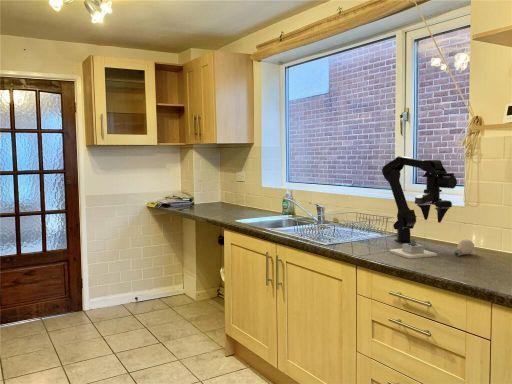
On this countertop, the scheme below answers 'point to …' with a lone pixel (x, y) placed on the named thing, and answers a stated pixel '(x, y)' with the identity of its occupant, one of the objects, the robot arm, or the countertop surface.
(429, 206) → the robot arm
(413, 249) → the link
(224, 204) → the countertop surface
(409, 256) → the plate
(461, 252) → the light bulb
